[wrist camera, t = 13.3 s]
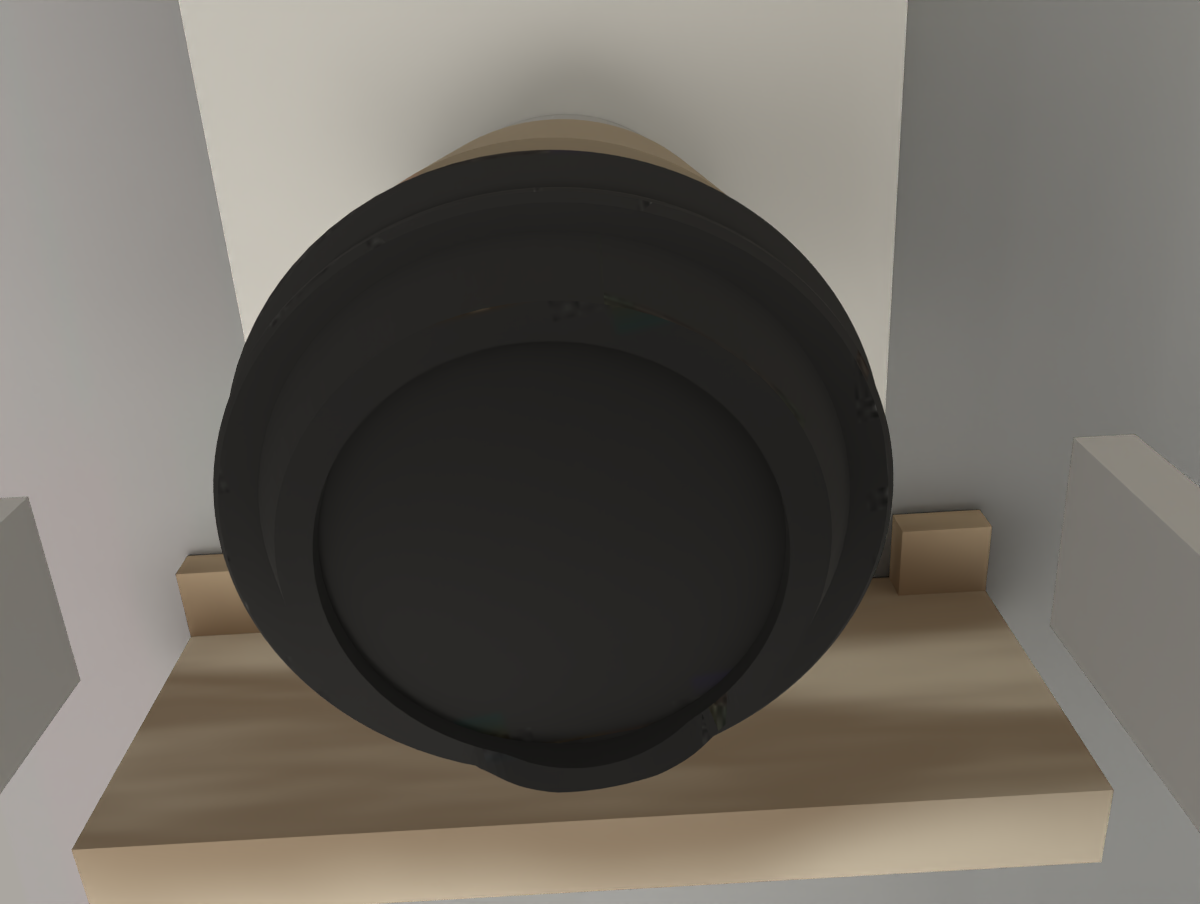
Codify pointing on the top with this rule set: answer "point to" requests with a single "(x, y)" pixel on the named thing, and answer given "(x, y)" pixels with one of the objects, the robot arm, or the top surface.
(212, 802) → the wooden screen
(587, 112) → the display pad
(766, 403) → the coffee cup
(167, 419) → the top surface
